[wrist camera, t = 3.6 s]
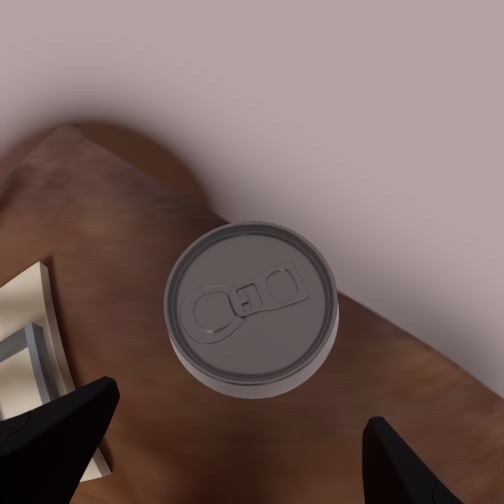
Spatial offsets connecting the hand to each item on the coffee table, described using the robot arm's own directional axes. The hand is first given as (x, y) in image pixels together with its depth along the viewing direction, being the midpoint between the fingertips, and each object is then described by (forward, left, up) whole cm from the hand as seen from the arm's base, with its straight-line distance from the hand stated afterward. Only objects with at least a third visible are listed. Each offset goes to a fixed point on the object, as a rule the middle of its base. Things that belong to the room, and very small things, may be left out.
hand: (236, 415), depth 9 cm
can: (+3, -2, -11) cm, 12 cm away
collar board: (+9, +21, -11) cm, 25 cm away
